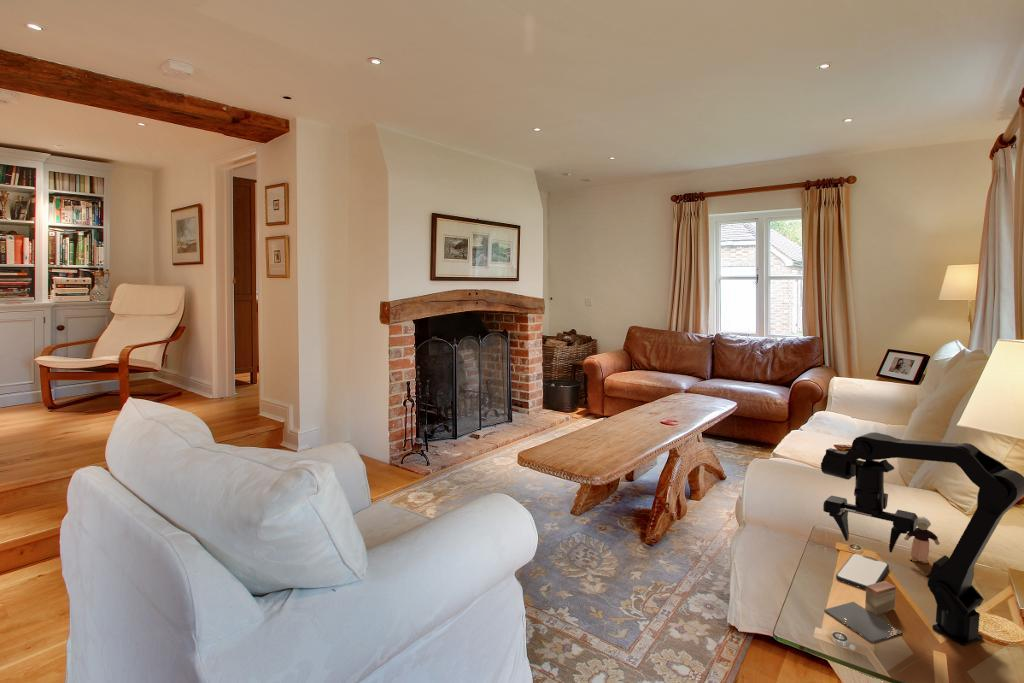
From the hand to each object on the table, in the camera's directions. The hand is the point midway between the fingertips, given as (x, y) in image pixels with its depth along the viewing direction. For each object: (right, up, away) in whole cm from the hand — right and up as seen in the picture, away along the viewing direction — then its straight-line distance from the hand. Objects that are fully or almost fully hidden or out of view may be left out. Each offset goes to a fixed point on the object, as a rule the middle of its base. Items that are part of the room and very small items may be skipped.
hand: (868, 546), depth 132 cm
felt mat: (-8, -14, -9) cm, 18 cm away
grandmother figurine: (+25, -10, +15) cm, 31 cm away
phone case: (+5, -12, +10) cm, 17 cm away
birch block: (-1, -13, -5) cm, 14 cm away
